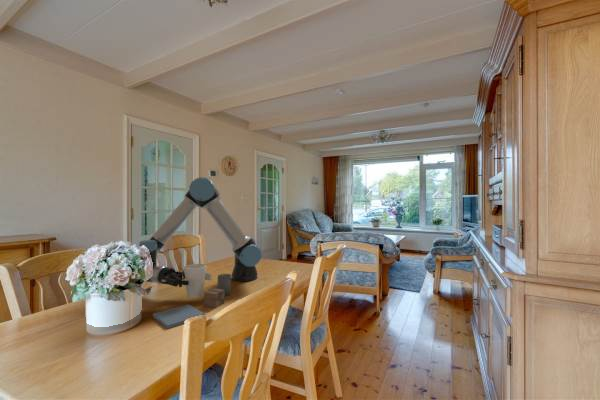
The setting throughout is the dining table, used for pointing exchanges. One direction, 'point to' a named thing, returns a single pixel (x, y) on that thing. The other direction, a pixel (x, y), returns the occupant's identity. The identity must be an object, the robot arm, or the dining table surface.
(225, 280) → the charcoal cylinder
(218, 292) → the walnut block
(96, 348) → the dining table surface
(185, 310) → the slate board
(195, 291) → the foam cup
